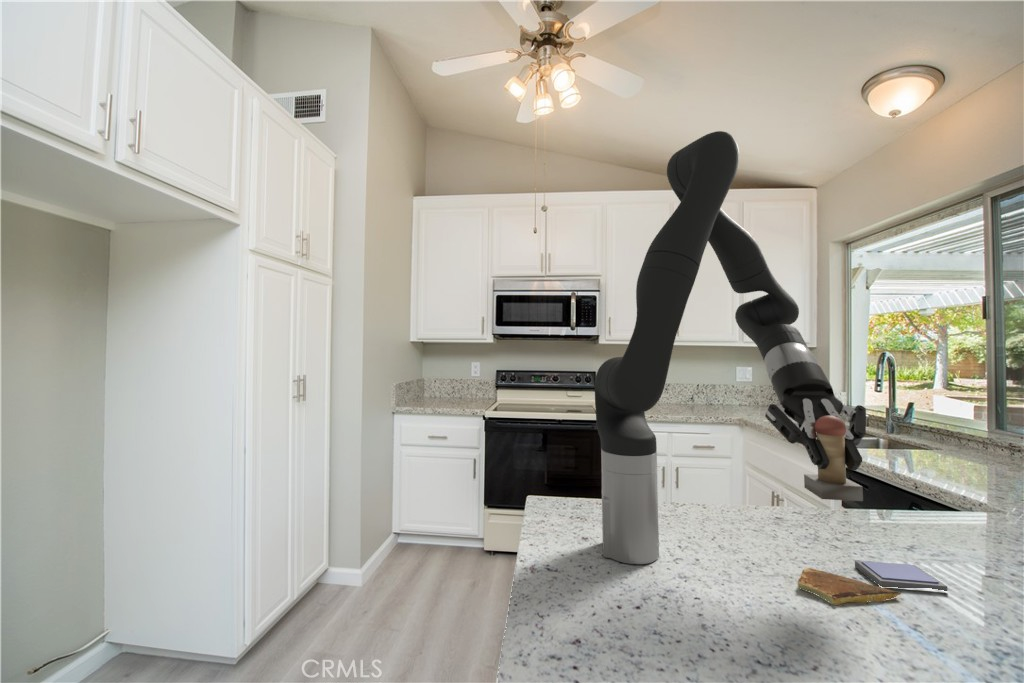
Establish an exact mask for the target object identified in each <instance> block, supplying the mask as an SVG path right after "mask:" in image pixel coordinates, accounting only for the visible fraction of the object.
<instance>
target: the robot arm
mask: <svg viewBox="0 0 1024 683" xmlns="http://www.w3.org/2000/svg"><path fill="white" fill-rule="evenodd" d="M739 163H740V150H739V145H738V142H737V140H736V138H735V137H734V136H733V135H732V134H730V133H729V132H727V131H724V130H723V131H722V130H718V131H713V132H709V133H707V134H704V135H703V136H701V137H699V138H698V139H695V140H694V141H692V142H691V143H689V144H687V145H686V146H684V147H682V148H680V149H679V150H678V151H676V152H675V153H673V155H672V156H671V157H669V160H668V162H667V166H666V176H667V180H668V183H669V185H670V187H671V189H672V191H673V192H674V194H675V195H676V197H677V198H678V200H679V202H680V203H679V204H678V205H677V207H676V208H675V210H674V212H673V213H672V214H671V216H670V217H669V218H668V220H666V222H665V223H664V225H663V226H662V227H661V229H660V230H659V231H658V233H657V234H656V235H655V236H654V238H653V240H652V242H651V243H650V244H649V247H648V249H647V250H646V253H645V256H644V260H643V263H642V265H641V268H640V271H639V274H638V277H637V281H636V287H635V288H636V290H635V294H636V296H635V299H636V301H635V302H636V317H635V318H636V320H635V325H634V329H633V331H632V335H631V337H630V340H629V341H628V345H627V348H626V350H625V352H624V354H623V356H614V357H611V358H609V359H607V360H605V361H604V362H603V363H602V364H601V365H600V366H599V368H598V370H597V371H596V375H595V380H594V381H595V382H594V404H595V422H596V428H597V432H598V436H599V439H600V450H601V451H600V452H601V453H600V455H601V456H600V457H601V461H600V462H601V526H602V528H601V529H602V535H601V536H602V557H604V558H609V559H612V560H615V561H617V562H621V563H625V564H628V565H629V564H630V565H646V564H651V563H653V562H655V561H656V560H658V559H659V557H660V538H659V535H660V534H659V533H660V532H659V530H660V528H659V495H658V494H659V493H658V489H659V487H658V457H657V456H658V455H657V453H658V450H657V446H658V445H657V437H656V435H655V433H654V432H653V431H652V429H651V428H650V426H649V424H648V422H647V419H646V415H645V414H646V413H645V412H647V411H649V410H650V409H651V410H652V408H653V407H654V406H656V405H657V403H658V402H659V400H660V398H661V397H662V394H663V392H664V389H665V386H666V383H667V377H668V373H669V368H670V363H671V360H672V359H671V358H672V354H673V349H674V345H675V341H676V337H677V334H678V331H679V328H680V326H681V322H682V320H683V316H684V313H685V310H686V307H687V306H686V305H687V304H688V300H689V297H690V295H691V292H692V290H693V287H694V285H695V282H696V279H697V276H698V272H699V269H700V267H701V262H702V258H703V256H704V253H705V250H706V247H707V245H708V244H710V246H711V248H712V249H713V251H714V253H715V255H716V257H717V259H718V262H719V263H720V265H721V267H722V270H723V272H724V274H725V276H726V278H727V281H728V282H729V285H730V287H731V289H732V290H733V292H734V293H736V294H749V293H754V292H764V293H765V294H763V295H762V296H760V297H756V298H753V299H752V300H749V301H747V302H743V303H741V304H740V305H739V306H738V307H737V309H736V311H735V313H734V314H735V315H734V318H735V321H736V324H737V325H738V327H739V328H740V330H741V331H742V332H743V333H744V334H745V335H746V337H748V338H749V339H750V340H752V342H753V343H754V344H755V345H756V347H757V348H758V350H759V352H760V355H761V357H762V360H763V361H764V364H765V369H766V372H767V376H768V379H769V381H770V382H771V385H772V387H773V389H774V391H775V394H776V397H777V399H778V402H779V403H780V404H779V405H777V404H774V403H771V404H769V405H768V407H767V410H766V413H765V415H764V418H766V419H767V420H768V421H769V422H770V424H772V426H773V427H774V428H775V429H776V430H777V431H778V432H779V433H780V434H781V436H783V437H784V439H785V440H786V441H788V443H790V444H795V443H797V444H801V445H802V446H803V447H804V448H805V449H806V452H807V454H808V458H810V462H811V463H812V465H814V466H817V469H818V468H819V469H826V468H827V466H828V465H829V459H828V456H827V454H826V452H825V450H824V448H823V446H822V444H821V442H820V440H819V439H817V432H816V430H815V423H816V421H817V420H818V419H819V418H820V417H823V416H828V415H830V416H835V417H837V418H839V419H840V420H842V421H843V422H844V424H845V425H846V422H847V423H849V426H848V427H847V426H846V433H845V465H846V468H847V469H848V470H849V471H857V470H858V469H859V467H860V466H861V464H862V463H863V457H862V455H861V453H860V452H859V450H858V447H857V446H858V445H859V444H861V441H862V440H863V438H864V437H866V435H867V432H866V431H867V429H866V428H867V424H866V423H867V422H866V420H867V415H866V414H867V413H866V412H867V409H866V407H865V406H863V405H859V404H857V405H856V406H855V407H851V406H848V405H845V404H843V401H841V400H840V399H839V398H837V397H836V395H835V393H834V390H833V386H832V385H831V383H830V380H829V379H828V378H827V376H826V374H825V372H824V371H823V368H822V366H821V365H820V362H819V361H818V359H817V358H816V356H815V355H814V353H813V352H812V351H811V350H810V349H809V347H808V346H807V343H806V341H805V339H804V338H803V335H802V334H801V332H800V330H798V329H797V327H795V326H793V325H792V324H794V323H796V321H797V320H798V318H799V315H800V310H799V305H798V304H797V302H796V301H795V299H794V298H793V297H792V296H791V294H789V293H788V291H786V290H785V289H784V288H783V287H782V285H781V284H780V283H779V282H778V280H776V278H775V276H774V274H773V273H772V272H771V269H770V268H769V265H768V263H767V260H766V258H765V257H764V254H763V252H762V250H761V247H760V246H759V244H758V242H757V240H756V239H755V237H753V236H752V235H751V233H750V232H749V231H747V230H746V229H745V228H743V226H741V225H740V224H739V223H737V222H736V221H735V220H734V219H732V217H730V216H729V215H728V214H727V213H726V212H725V211H724V209H723V208H721V207H722V205H723V203H724V202H725V200H726V197H727V195H728V192H729V191H730V188H731V186H732V184H733V182H734V180H735V177H736V175H737V172H738V170H739V166H740V165H739ZM841 414H842V415H843V416H844V417H845V419H843V417H842V416H841ZM792 420H793V421H792ZM794 421H795V422H796V424H795V423H794Z"/></svg>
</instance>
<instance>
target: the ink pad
mask: <svg viewBox="0 0 1024 683" xmlns="http://www.w3.org/2000/svg"><path fill="white" fill-rule="evenodd" d="M854 567H855V569H857V570H858V571H859V572H861V573H862V574H863V575H864V574H865V575H864V576H866V577H867V576H868V577H869V578H870V579H869V578H868V577H867V578H868V579H869V580H871V579H872V580H873V581H875V582H876V583H877V584H879V585H880V586H882V587H898V588H932V589H938V590H944V591H949V590H948V585H947V584H944V582H942V581H940V580H939V579H937V578H935V577H934V576H933V575H930V574H929V573H928V572H926V570H925V571H924V570H923V569H922V568H920V567H919V566H917V565H916V564H907V563H893V562H879V561H866V560H854ZM872 580H871V581H872ZM873 581H872V582H873ZM876 583H875V584H876ZM877 584H876V585H877Z"/></svg>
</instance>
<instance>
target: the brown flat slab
mask: <svg viewBox="0 0 1024 683" xmlns="http://www.w3.org/2000/svg"><path fill="white" fill-rule="evenodd" d="M797 586H798V587H797V588H798V589H799V588H801V589H804V590H807V591H806V592H808V591H810V592H812V593H815V594H817V595H819V596H820V597H822V598H824V599H826V600H827V601H829V602H830V603H829V602H828V603H829V604H831V605H833V604H834V605H833V606H839V605H842V604H846V603H873V602H872V601H878V602H880V601H881V602H885V601H884V600H886V599H891V598H894V597H898V596H900V595H902V592H901V591H896V590H893V589H888V588H881V587H879V586H878V585H872V584H868V583H867V582H863V581H861V580H857V579H853V578H850V577H846V576H843V575H839V574H835V573H831V572H829V571H828V572H827V571H823V570H819V569H815V568H811V567H808V568H804V569H802V570H801V575H800V577H799V578H798V580H797ZM801 589H800V590H801ZM804 590H803V591H804ZM810 592H809V593H810ZM812 593H811V594H812ZM820 597H819V598H820ZM822 598H821V599H822ZM824 599H823V600H824ZM826 600H825V601H826ZM827 601H826V602H827ZM867 601H868V602H867ZM869 601H871V602H869Z"/></svg>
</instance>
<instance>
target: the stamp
mask: <svg viewBox="0 0 1024 683" xmlns="http://www.w3.org/2000/svg"><path fill="white" fill-rule="evenodd" d="M846 427H847V426H846V423H845V424H844V422H843V421H842V420H840V419H839V418H837V417H835V416H830V415H828V416H823V417H820V418H819V419H818V420H817V421H816V423H815V430H816V435H817V437H816V439H819V440H820V442H821V444H822V446H823V448H824V450H825V452H826V454H827V456H828V459H829V465H828V466H827V468H826V469H819V468H818V467H817V474H809V473H808V474H806V473H803V478H804V479H803V481H804V482H803V483H804V486H803V488H804V489H806V490H807V491H808V492H811V493H812V494H814V495H815V496H816V497H818V498H820V499H821V500H829V501H830V500H832V501H833V500H834V501H849V502H850V501H851V502H864V491H863V490H864V488H863V486H862V485H860V484H859V483H856V482H854V481H853V480H850V479H848V478H847V471H846V468H847V466H846V464H845V433H846Z"/></svg>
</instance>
